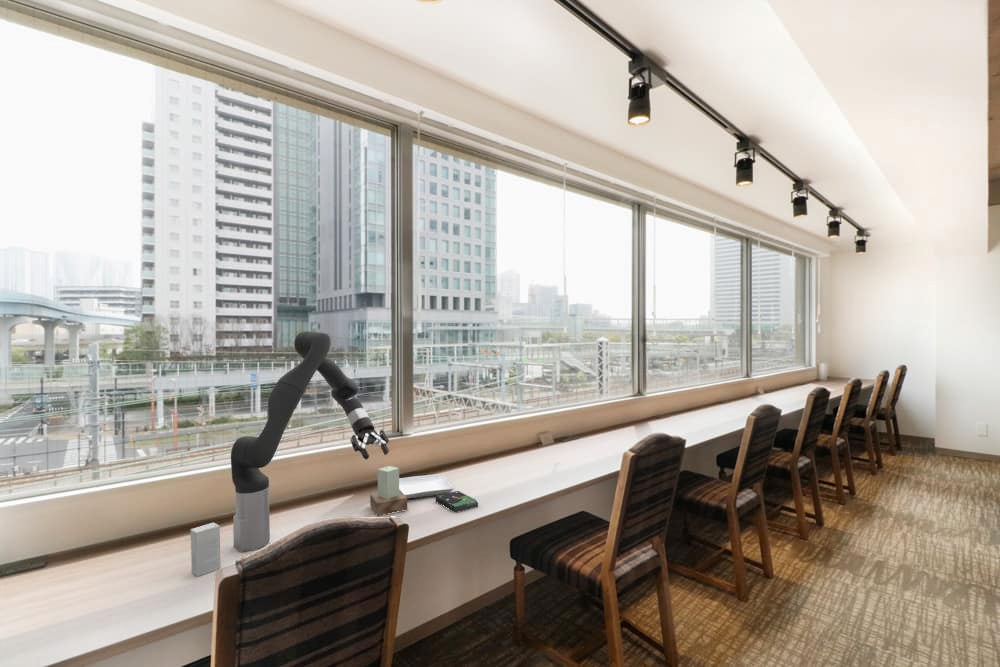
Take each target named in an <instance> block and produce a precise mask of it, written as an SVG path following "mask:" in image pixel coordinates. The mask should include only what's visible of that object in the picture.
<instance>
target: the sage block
mask: <svg viewBox="0 0 1000 667" xmlns="http://www.w3.org/2000/svg"><path fill="white" fill-rule="evenodd" d="M399 478H400V467H395V466H393V465H387V466H383V467H380V468H378V469H377V493H378V497H382V498H385V499H390V498H393V497H395V496H398V495H399Z"/></svg>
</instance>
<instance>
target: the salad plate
mask: <svg viewBox="0 0 1000 667" xmlns="http://www.w3.org/2000/svg"><path fill="white" fill-rule="evenodd" d="M399 490H400V491H401V492H402V493H403V494H404V495H405V496H406V497H407V500H409V499H410V498H411V499H417V497H419V498H425V497H424V496H427V497H432V496H431V495H434V496H438V495H439V494H441V495H445V494H446V493H451V492H453V490H454V487H453V485H452V484H451V482H449V481H448V479H447V478H446V477H445V476H444V474H441V473H438V474H426V475H416V476H407V477H402V478H401V477H399Z"/></svg>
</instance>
